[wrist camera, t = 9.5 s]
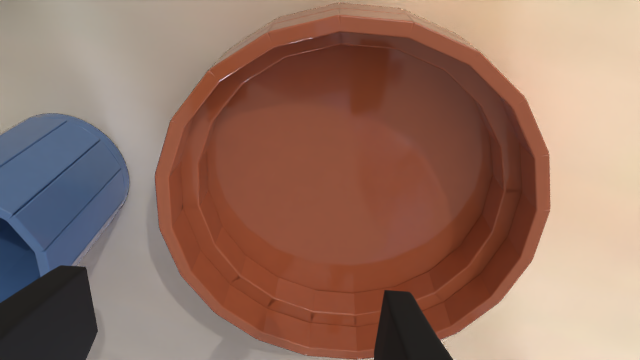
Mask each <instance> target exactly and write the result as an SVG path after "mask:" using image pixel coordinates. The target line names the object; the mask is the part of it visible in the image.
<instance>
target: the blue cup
mask: <svg viewBox="0 0 640 360" xmlns="http://www.w3.org/2000/svg"><path fill="white" fill-rule="evenodd" d="M128 190H129V175H128V170H127V166H126V163H125V161H124V159H123V157H122V155H121V153H120V152H119V150H118V148H117V147H116V146H115V145H114V143H113V142H112V141H111V140H110V139H109V138H108V137H107V136H106V135H105V134H104V133H102V132H101V131H100V130H99V129H97V128H96V127H94V126H93V125H91V124H89V123H87V122H85V121H83V120H81V119H78V118H75V117H72V116H68V115H63V114H51V113H48V114H40V115H36V116H32V117H30V118H27V119H25V120H23V121H22V122H20V123H18V124H17V125H15V126H13V127H11V128H9V129H7V130H5V131H3V132H1V133H0V303H1V302H2V301H4V300H5V299H7V298H9V297H10V296H12V295H13V294H15V293H16V292H18V291H20V290H21V289H23V288H24V287H26V286H27V285H29V284H30V283H32V282H34V281H35V280H37V279H38V278H40V277H42V276H43V275H45V274H46V273H48V272H50V271H51V270H53V269H55V268H57V267H58V266H60V265H65V266H77V265H78V263H79V262H80V261H81V260H82V258H83V257H84V256H85V254H86V253H87V252H88V251H89V249H90V248H91V247H92V246H93V244H94V243H95V242H96V240H97V239H98V238H99V237H100V235H101V234H102V233H103V232H104V230H105V229H106V228H107V227H108V225H109V224H110V223H111V221H112V220H113V219H114V217H115V215H116V213H117V212H118V211H119V209H120V208H121V207H122V205H123V204H124V202H125V200H126V198H127V194H128Z"/></svg>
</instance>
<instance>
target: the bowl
mask: <svg viewBox="0 0 640 360" xmlns="http://www.w3.org/2000/svg"><path fill="white" fill-rule="evenodd" d="M548 153H549V151H548V149H547V147H546V144H545V142H544V140H543V137H542V135H541V133H540V130H539V128H538V126H537V123H536V121H535V119H534V116H533V114H532V111H531V109H530V107H529V104H528V102H527V100H526V99H525V97H524V96H523V95H522V94H521V93H520V92H519V91H518V90H517V89H516V88H515V87H514V86H513V85H512V84H511V83H510V82H509V81H508V80H507V79H506V77H505V76H504V75H503V74H502V73H501V72H500V71H499V70H498V69H497V68H496V67H495V66H494V65H493V64H492V63H491V62H490V61H489V60H488V59H487V58H486V57H485V56H484V55H483V54H482V53H481V52H479V51H478V50H477V49H476V48H474V47H473V46H472V45H470V44H469V43H468V42H467V41H465V40H464V39H463V38H462V37H460V36H459V35H457V34H456V33H454V32H452V31H450V30H448V29H445V28H443V27H441V26H439V25H437V24H435V23H432V22H430V21H428V20H426V19H424V18H422V17H419V16H417V15H415V14H413V13H411V12H408V11H406V10H402V9H400V8H393V7H382V6H371V5H360V4H349V3H334V4H330V5H326V6H322V7H318V8H314V9H310V10H306V11H302V12H298V13H294V14H289V15H285V16H281V17H279V18H278V19H275V20H273V21H271V22H270V23H268V24H267V25H265V26H264V27H262V28H261V29H259V30H258V31H256V32H254V33H253V34H251V35H250V36H248V37H247V38H245V39H244V40H242V41H241V42H239V43H237V44H236V45H234V46H233V47H231V48H230V49H229V50H228V51H227V52H225V53H224V54H223V55H222V57H221V58H220V59H219V60H218V61H217V62H216V63H215V64H214V65H213V66H212V67H211V68H210V69H209V70H208V71H207V72H206V74H205V75H204V76H203V78H202V79H201V80H200V82H199V83H198V84H197V86H196V87H195V88H194V90H193V91H192V92H191V94H190V95H189V96H188V97H187V99H186V100H185V101H184V103H183V104H182V105H181V107H180V108H179V109H178V111H177V112H176V113H175V115H174V116H173V117H172V119H171V121H170V124H169V127H168V131H167V134H166V137H165V141H164V144H163V148H162V151H161V155H160V158H159V162H158V165H157V169H156V172H155V185H156V197H157V209H158V221H159V228H160V231H161V233H162V236H163V238H164V240H165V242H166V244H167V247H168V249H169V251H170V253H171V255H172V258H173V260H174V262H175V264H176V266H177V268H178V271H179V273H180V275H181V276H182V277H183V278H184V280H185V281H186V282H187V283H188V284H189V285H190V286H191V287H192V288H193V290H194V291H195V292H196V293H197V294H198V295H199V296H200V297H201V298H202V299H203V301H204V302H205V303H206V304H207V305H208V306H209V307H210V308H211V309H212V310H213V312H215V313H216V314H217V315H219V316H221V317H222V318H224V319H225V320H227V321H228V322H230V323H232V324H233V325H235V326H236V327H238V328H240V329H241V330H243V331H244V332H246V333H248V334H249V335H251V336H252V337H254V338H256V339H258V340H260V341H263V342H266V343H269V344H272V345H275V346H278V347H281V348H285V349H288V350H291V351H294V352H297V353H300V354H303V355H307V356H318V357H330V358H342V359H354V360H357V359H366V358H373V357H374V348H375V342H376V336H377V331H378V325H379V319H380V313H381V307H382V301H383V295H384V290H393V291H406V292H410V293H411V294H412V295H413V296H414V298H415V300H416V302H417V303H418V305H419V307H420V309H421V310H422V312H423V314H424V315H425V317H426V319H427V320H428V322H429V324H430V325H431V327H432V328H433V330H434V332H435V333H436V335H437V336H438V338H439V339H440V340H441V339H444V338H446V337H449V336H451V335H454V334H456V333H457V332H460V331H461V330H462V329H464V328H465V327H466V326H468V325H469V324H471V323H472V322H473V321H475V320H476V319H477V318H479V317H480V316H482V315H483V314H484V313H486V312H487V311H488V310H490V309H491V308H493V307H494V306H495V305H497V304H498V303H499V302H500V301H501V300H502V299H503V298H504V296H505V295H506V294H507V292H508V291H509V290H510V289H511V287H512V286H513V285H514V283H515V282H516V281H517V280H518V278H519V277H520V276H521V274H522V273H523V272H524V271H525V269H526V268H527V267H528V265H529V264H530V263H531V262H532V260H533V257H534V254H535V252H536V249H537V246H538V243H539V240H540V238H541V235H542V232H543V229H544V226H545V223H546V221H547V218H548V215H549V212H550V165H549V154H548Z"/></svg>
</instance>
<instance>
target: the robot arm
mask: <svg viewBox="0 0 640 360" xmlns="http://www.w3.org/2000/svg"><path fill="white" fill-rule="evenodd" d="M97 332H98V329H97V323H96V318H95V313H94V308H93V302H92V297H91V292H90V286H89V281H88V276H87V270H86V267H78V266H65V265H60V266H58V267H57V268H55V269H53V270H51V271H50V272H48V273H46V274H45V275H43V276H42V277H40V278H38V279H37V280H35V281H34V282H32V283H30V284H29V285H27V286H26V287H24V288H23V289H21V290H20V291H18V292H16V293H15V294H13V295H12V296H10V297H9V298H7V299H5V300H4V301H2V302H1V303H0V360H86V358H87V355H88V353H89V351H90V348H91V346H92V344H93V341H94V339H95V337H96V334H97ZM374 360H453V359H452V357H451V356H450V354H449V353H448V351H447V350H446V348H445V347H444V346H443V344H442V343H441V341H440V339H439V338H438V336H437V335H436V333H435V332H434V330H433V328H432V327H431V325H430V324H429V322H428V320H427V319H426V317H425V315H424V314H423V312H422V310H421V309H420V307H419V305H418V303H417V302H416V300H415V298H414V296H413V295H412V294H411V293H410V292H406V291H393V290H384V295H383V301H382V307H381V313H380V319H379V325H378V331H377V336H376V342H375V348H374Z"/></svg>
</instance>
